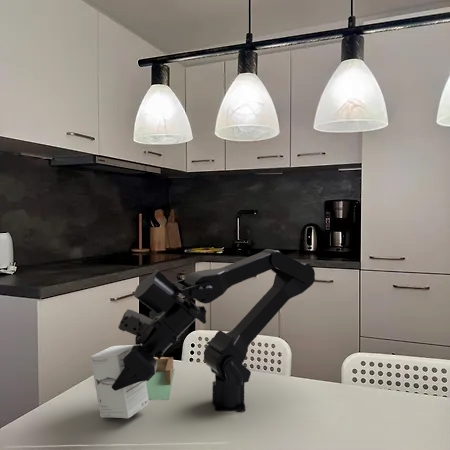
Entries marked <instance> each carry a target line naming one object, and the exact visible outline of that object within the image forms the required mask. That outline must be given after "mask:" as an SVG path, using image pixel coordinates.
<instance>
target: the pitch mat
mask: <svg viewBox="0 0 450 450" xmlns="http://www.w3.org/2000/svg"><path fill="white" fill-rule="evenodd" d="M175 370H176V368H173V374H172V379H171V384H170V385H165V372H155V374H154V375H153V377H152V378H151V379H150V380H149V381H146V386H147V392H148V398H149V401H159V400H161V401H164V400H165V401H166V400H169V399H170V394H171V390H172V389H171V388H172V384H173V381H174V380H173V379H174V375H175Z"/></svg>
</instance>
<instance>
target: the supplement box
mask: <svg viewBox="0 0 450 450" xmlns="http://www.w3.org/2000/svg"><path fill="white" fill-rule="evenodd" d="M134 345H135V344H128V345H127V344H125V345H112V346H110V347H107V348H105V349H103V350H101V351H99V352H97V353H95V354H93V355H90V360H91V369H92V373H93V379H94V386H95V391H96V392H95V393H96V398H97V403H98V404H97V405H98V410H99V415H100V418H117V419H118V418H119V419H120V418H121V419H131V417H132V416H134V415H135V414H136V413H138V412H140V411H141V410H142V409H143V408H144V409H145V407H146V406H147V405H149V404H150V400H149V398H148V392H147V386H146V381H141V382H138V383H135V384H132V385H129V386H127V387H124V388H122V389H119V390H116V391H115V390H113V389H112V385H113V384H114V382H115V381H116V379H117V378H118V376H119V375H120V373H121V372H122V370H123V369H124V362H123V358H124V357H125V355H126V353H127V352H128V351H129V350H130V349H131V348H132V347H133V346H134Z"/></svg>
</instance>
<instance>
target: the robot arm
mask: <svg viewBox="0 0 450 450" xmlns="http://www.w3.org/2000/svg"><path fill="white" fill-rule="evenodd" d="M269 271H271V272H273V273H275V275H274V281H273V284H272V286H271V287H270V288H269V289H268V290H267V292H266V293H265V294H264V295H263V296H262V297H261V298H260V299H259V301H257V302H256V304H255V305H254V306H252V308H251V309H250V310H249V311H248V312H247V314H246V315H245V316H244V317H242V319H241V320H240V322H239V323H237V324H236V325H235V327H234V328H233V329H232V330H230V331H228V332H224V331H223V330H218V331H217V332H216V333H215V335H214V336H213V337H212V338H211V339H210V340H209V341H207V342H206V345H207V346H206V347H205V348H204V351H203V361H204V363H205V365H206V366H207V367H209V368H210V370H211V372H212V374H214V375H215V377H214V380H215V381H212V383H211V384H212V389H211V390H212V394H211V395H212V399H211V400H212V401H211V402H212V405H213V406H214V411H215V412H245V411H246V404H245V383H248V382H249V381H250V377H251V373H252V372H251V370H249V369H248V368H247V367H246V366H245V365H244V364H243V363H244V362H245V360H246V356H247V354H248V349H249V347H250V345H251V344H252V343H253V341H254V340H255V339H256V338H257V337H258V336H259V334H260V333H261V332H262V331H263V329H265V327H267V325H268V324H269V323H270V322H271V321H272V320H273V319H274V317H275V316H277V314H278V312H280V310H281V309H282V308H283V307H284V306H285V305H286V303H288V301H289V300H291V299H292V298H295V297H297V296H299V295H302V294H303V293H304V292H306V291H307V290H308V289H309V288H311V286H313V284H314V283H315V281H316V273H315V270H314V267H313V265H311V264H309V263H307V262H306V263H305V262H301V261H298V260H296V259H294V258H291V257H290V256H288V255H285V254H284V253H282V252H281V251H280V250H276V249H270V248H267V249H266V248H265V249H263V250H262V251H260V252H258V253H256V254H254V255H251V256H248V257H245V258H243V259H240V260H237V261H235V262H233V263H230V264H227V265H226V266H221V267H220V268H212V269H211V268H210V269H203V270H197V271H193V272H190V273H188V274H187V275H186V276H185V278H183V279H179V280H177V281H173V282H172V281H171V280H170V279H168V277H166V275H165V273H163V272H162V271H160V270H158V269H154V271H153V272H152V273H151V274H149V275H148V276H146V277H145V278H144V279H142V280H141V281H140V282H139V284H138V285H137V286H136V289H135V291H134V295H133V296H134V297H135V298H136V299H137V300H138V301H139V302H140V303H142V304H143V305H145V306H146V308H149V309H150V310H151V311H152V312H154V313H155V314H160V313H161V314H160V315H156V316H155V317H154V318H153V319H152V318H150V317H148V316H146V315H145V314H142V313H140V312H137V311H135V310H132V309H126V311H125V312H124V313H123V315H122V318H121V320H120V322H119V324H118V326H117V327H118V330H120V331H122V332H127V333H129V334H131V335H134V336H135V337H134V338H135V344H133V345H134V346H133V347H132V348H131V349H130V350H129V351H128V352H127V353H126V355H125V357H124V358H123V362H124V369H123V370H122V372H121V373H120V375H119V376H118V378H117V379H116V381H115V382H114V384H113V385H112V389H113V390H115V391H116V390H119V389H122V388H124V387H127V386H129V385H132V384H135V383H138V382H141V381H149V380H150V379H151V378H152V377H153V375H154V374H155V372H156V369H157V360H156V359H155V358H154V357H157V358H158V359H160V358H161V357H164V353H165V352H166V351H167V349H169V347H170V346H171V345H175V344H176V343H177V341H178V338H179V337H180V336H181V335H182V334H183V333H184V332H185V331H186V330H187V329H188V328H189V327H190V326H191V325H192V324H193V323H194V322H195V321H196V319H197V320H199V322H201V324H206V323H207V318H206V317H207V310H206V307H205V306H204V305H202V306H201V305H199V306H198V305H197V304H196V303H194V302H193V301H192V300H194V301H197V302H199V303H201V304H206V305H207V304H210V303H212V302H214V301H215V300H216V299H217V300H218V298H219V297H221V296H223V295H224V294H226V291H227V290H228V289H229V288H232V287H233V286H235V285H237V284H240V283H243V282H244V281H247V280H249V279H251V278H254V277H256V276H258V275H261V274H263V273H266V272H269ZM179 295H180V296H179ZM181 296H182V297H184V298H186V299H184V298H182V297H181Z"/></svg>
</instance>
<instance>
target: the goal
mask: <svg viewBox="0 0 450 450" xmlns="http://www.w3.org/2000/svg"><path fill="white" fill-rule="evenodd" d="M154 358H155V359H156V360H157V369H156V372H165V385H170V384H171V379H172V374H173V369H174V357H173V356H167V357H165V356H162V357H161V358H160V359H158V358H157V357H156V356H154Z"/></svg>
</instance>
